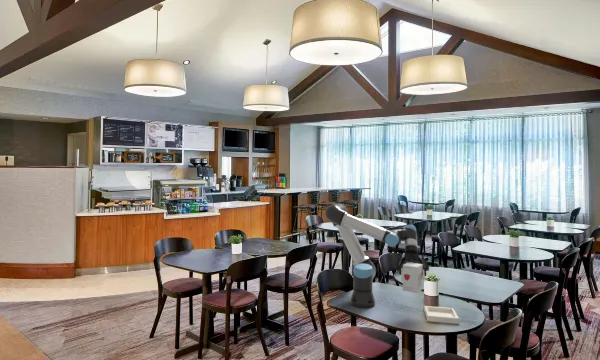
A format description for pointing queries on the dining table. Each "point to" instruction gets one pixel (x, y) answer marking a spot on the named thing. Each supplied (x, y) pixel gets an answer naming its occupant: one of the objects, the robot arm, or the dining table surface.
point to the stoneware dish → (441, 314)
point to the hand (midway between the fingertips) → (413, 280)
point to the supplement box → (412, 277)
